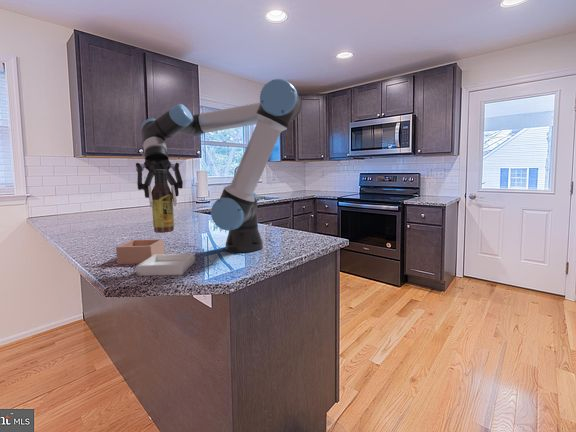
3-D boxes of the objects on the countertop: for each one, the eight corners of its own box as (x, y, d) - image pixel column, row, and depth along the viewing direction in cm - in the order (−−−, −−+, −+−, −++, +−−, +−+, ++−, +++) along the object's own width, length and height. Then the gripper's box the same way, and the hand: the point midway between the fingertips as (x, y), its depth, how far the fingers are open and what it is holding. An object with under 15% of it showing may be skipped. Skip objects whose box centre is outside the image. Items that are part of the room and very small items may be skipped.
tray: (195, 261, 110) (194, 253, 110) (182, 274, 97) (181, 265, 96) (155, 263, 110) (154, 254, 110) (136, 275, 96) (135, 266, 96)
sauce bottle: (167, 233, 98) (162, 169, 95) (149, 233, 99) (143, 169, 97) (178, 229, 104) (174, 169, 102) (162, 229, 106) (156, 169, 103)
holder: (164, 254, 122) (163, 239, 121) (152, 263, 110) (150, 246, 109) (133, 255, 122) (132, 240, 121) (117, 263, 110) (115, 247, 109)
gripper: (184, 161, 117) (194, 209, 104) (126, 161, 108) (129, 213, 96) (185, 145, 111) (196, 194, 99) (124, 144, 103) (127, 197, 91)
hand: (163, 203), depth 97 cm, fingers closed on sauce bottle, 6 cm apart
